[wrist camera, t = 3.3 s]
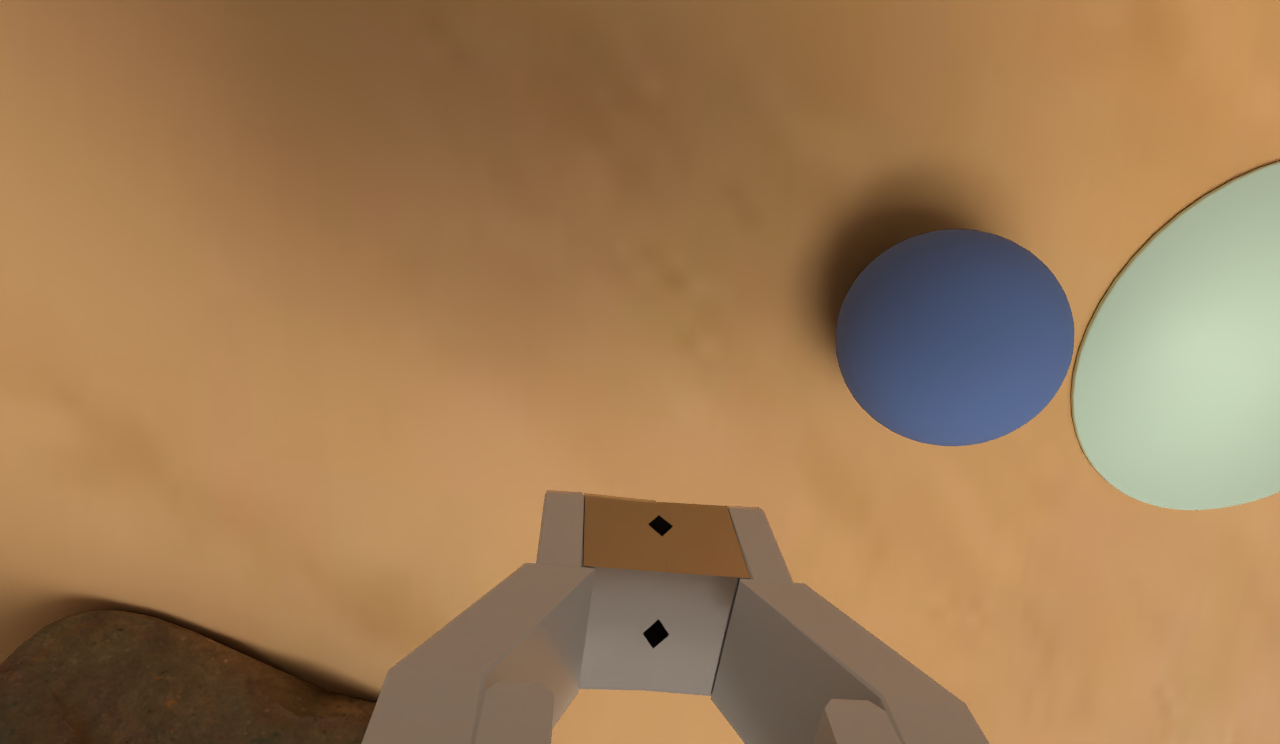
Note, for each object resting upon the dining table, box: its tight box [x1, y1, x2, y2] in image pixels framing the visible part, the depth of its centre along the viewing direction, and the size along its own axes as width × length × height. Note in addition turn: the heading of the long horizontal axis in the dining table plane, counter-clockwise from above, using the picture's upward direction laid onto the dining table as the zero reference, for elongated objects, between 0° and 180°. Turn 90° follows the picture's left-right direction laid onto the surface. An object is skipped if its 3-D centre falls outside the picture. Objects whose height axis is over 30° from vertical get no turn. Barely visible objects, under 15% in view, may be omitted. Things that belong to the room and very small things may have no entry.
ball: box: [836, 229, 1074, 446], centre depth 19 cm, size 6×6×6 cm
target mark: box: [1071, 161, 1280, 510], centre depth 23 cm, size 13×13×1 cm
